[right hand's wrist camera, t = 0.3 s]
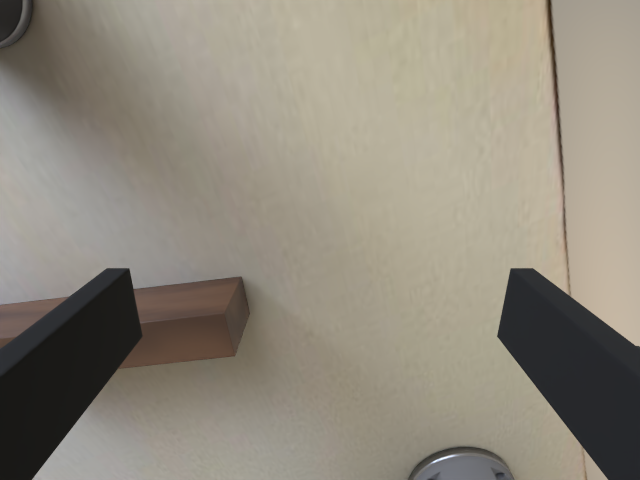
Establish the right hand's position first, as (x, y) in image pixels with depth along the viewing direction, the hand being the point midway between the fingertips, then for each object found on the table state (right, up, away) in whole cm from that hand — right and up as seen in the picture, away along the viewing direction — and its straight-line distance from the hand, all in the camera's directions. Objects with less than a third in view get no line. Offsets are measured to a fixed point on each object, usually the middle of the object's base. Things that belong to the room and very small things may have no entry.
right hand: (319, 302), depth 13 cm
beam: (-24, -6, +31) cm, 39 cm away
